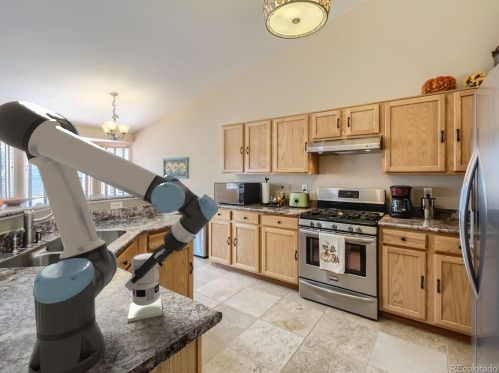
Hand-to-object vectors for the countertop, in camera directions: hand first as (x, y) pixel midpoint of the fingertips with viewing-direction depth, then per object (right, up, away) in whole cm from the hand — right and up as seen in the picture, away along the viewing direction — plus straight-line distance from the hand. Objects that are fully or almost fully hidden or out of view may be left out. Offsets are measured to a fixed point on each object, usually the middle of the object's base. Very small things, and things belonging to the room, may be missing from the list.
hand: (136, 281), depth 83 cm
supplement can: (+4, -6, 0) cm, 7 cm away
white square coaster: (+3, -10, 0) cm, 10 cm away
